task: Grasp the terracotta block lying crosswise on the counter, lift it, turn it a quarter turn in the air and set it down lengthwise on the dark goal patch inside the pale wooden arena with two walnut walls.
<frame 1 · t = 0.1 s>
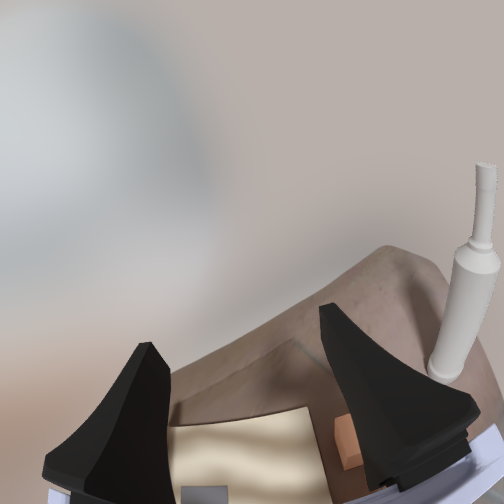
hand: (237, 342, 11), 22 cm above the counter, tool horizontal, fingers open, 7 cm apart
arena: (238, 497, 19), on the counter
block: (374, 441, 21), on the counter
bottle: (442, 370, 25), on the counter
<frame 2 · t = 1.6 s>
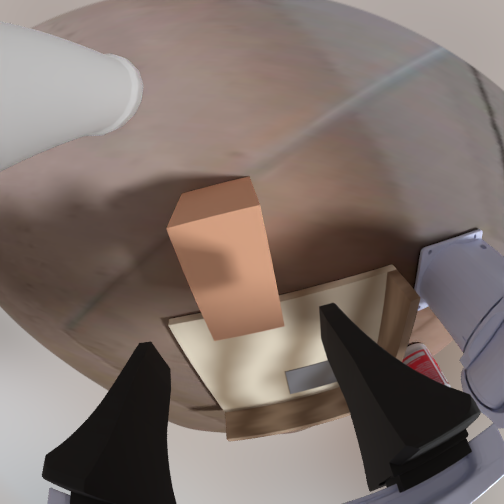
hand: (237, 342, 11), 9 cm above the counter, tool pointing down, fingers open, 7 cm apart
arena: (295, 357, 26), on the counter
block: (229, 237, 19), on the counter
bottle: (110, 95, 13), on the counter
pill bottle: (405, 355, 30), on the counter
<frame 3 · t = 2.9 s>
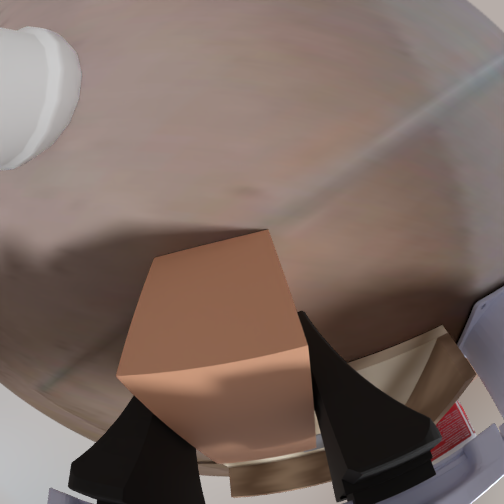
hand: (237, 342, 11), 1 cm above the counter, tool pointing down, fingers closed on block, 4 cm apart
arena: (313, 424, 20), on the counter
block: (235, 319, 12), on the counter, touching gripper
bottle: (36, 95, 6), on the counter
pill bottle: (430, 400, 23), on the counter
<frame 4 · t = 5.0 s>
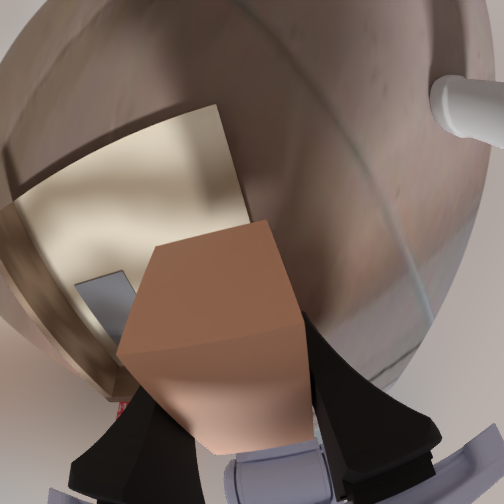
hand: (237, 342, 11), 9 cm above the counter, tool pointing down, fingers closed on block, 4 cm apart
arena: (143, 276, 20), on the counter
block: (233, 309, 12), point 7 cm above the counter, touching gripper
bottle: (447, 103, 15), on the counter
when the fingers open (4 cm above the counter, at t = 7.3 s): block stays where it is, resting on arena.
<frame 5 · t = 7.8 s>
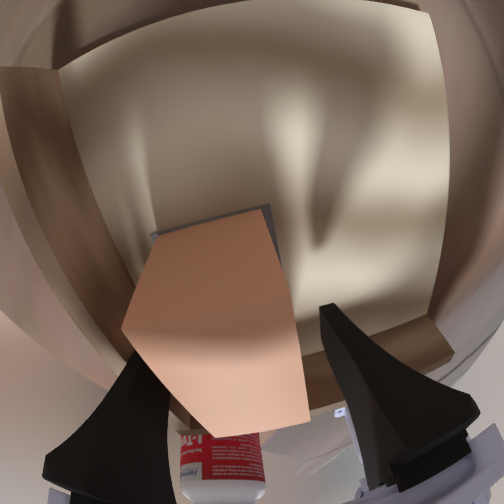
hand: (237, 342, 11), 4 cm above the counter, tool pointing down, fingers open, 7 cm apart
arena: (291, 221, 12), on the counter
block: (232, 295, 13), point 1 cm above the counter, touching arena
pill bottle: (218, 403, 20), on the counter
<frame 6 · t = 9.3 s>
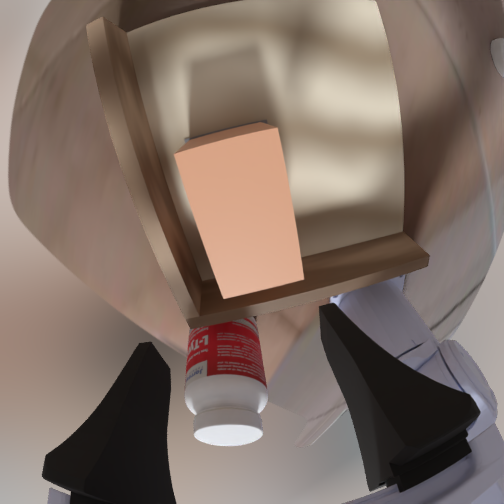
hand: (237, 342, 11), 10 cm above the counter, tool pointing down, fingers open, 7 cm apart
arena: (282, 136, 17), on the counter
block: (239, 189, 17), point 1 cm above the counter, touching arena
bottle: (500, 58, 12), on the counter
pill bottle: (223, 324, 25), on the counter
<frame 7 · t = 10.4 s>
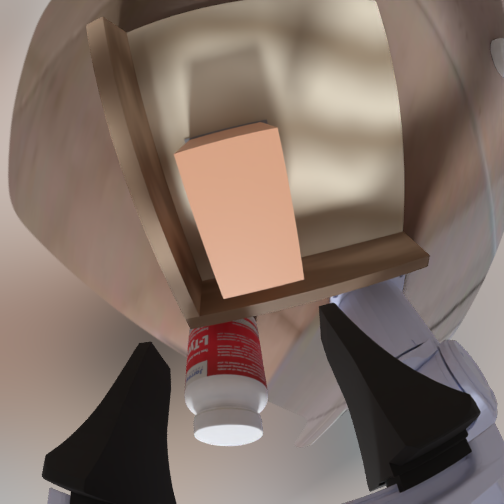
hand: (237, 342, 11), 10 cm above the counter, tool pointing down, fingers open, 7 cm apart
arena: (282, 136, 17), on the counter
block: (239, 189, 17), point 1 cm above the counter, touching arena
bottle: (500, 58, 12), on the counter
pill bottle: (223, 324, 25), on the counter
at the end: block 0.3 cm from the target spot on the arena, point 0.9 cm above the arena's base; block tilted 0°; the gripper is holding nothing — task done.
